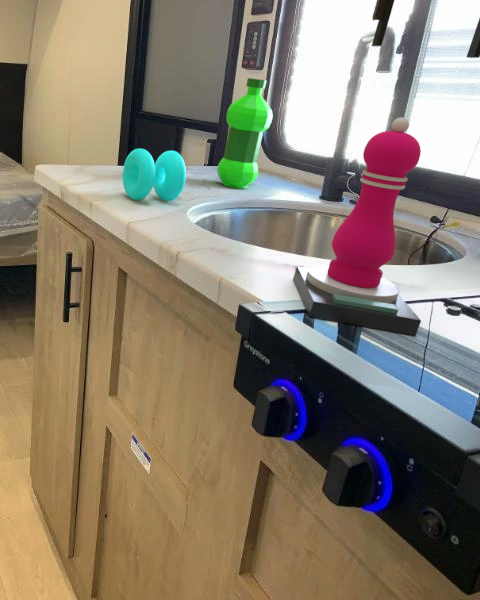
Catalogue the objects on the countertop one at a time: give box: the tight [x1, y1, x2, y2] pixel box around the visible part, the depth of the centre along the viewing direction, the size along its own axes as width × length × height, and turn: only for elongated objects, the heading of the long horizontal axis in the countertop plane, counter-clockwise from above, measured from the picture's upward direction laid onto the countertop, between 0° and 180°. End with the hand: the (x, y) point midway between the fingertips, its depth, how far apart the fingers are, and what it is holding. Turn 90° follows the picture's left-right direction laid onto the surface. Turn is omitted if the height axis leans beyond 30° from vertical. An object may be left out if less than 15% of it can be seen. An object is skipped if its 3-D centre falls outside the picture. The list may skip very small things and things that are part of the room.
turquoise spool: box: [122, 147, 187, 202], centre depth 119 cm, size 10×10×10 cm
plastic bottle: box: [216, 77, 273, 189], centre depth 144 cm, size 10×10×25 cm
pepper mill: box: [328, 117, 422, 288], centre depth 73 cm, size 7×7×20 cm
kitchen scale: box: [292, 264, 422, 337], centre depth 76 cm, size 12×14×3 cm
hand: (423, 52), depth 89 cm, fingers open, 13 cm apart
